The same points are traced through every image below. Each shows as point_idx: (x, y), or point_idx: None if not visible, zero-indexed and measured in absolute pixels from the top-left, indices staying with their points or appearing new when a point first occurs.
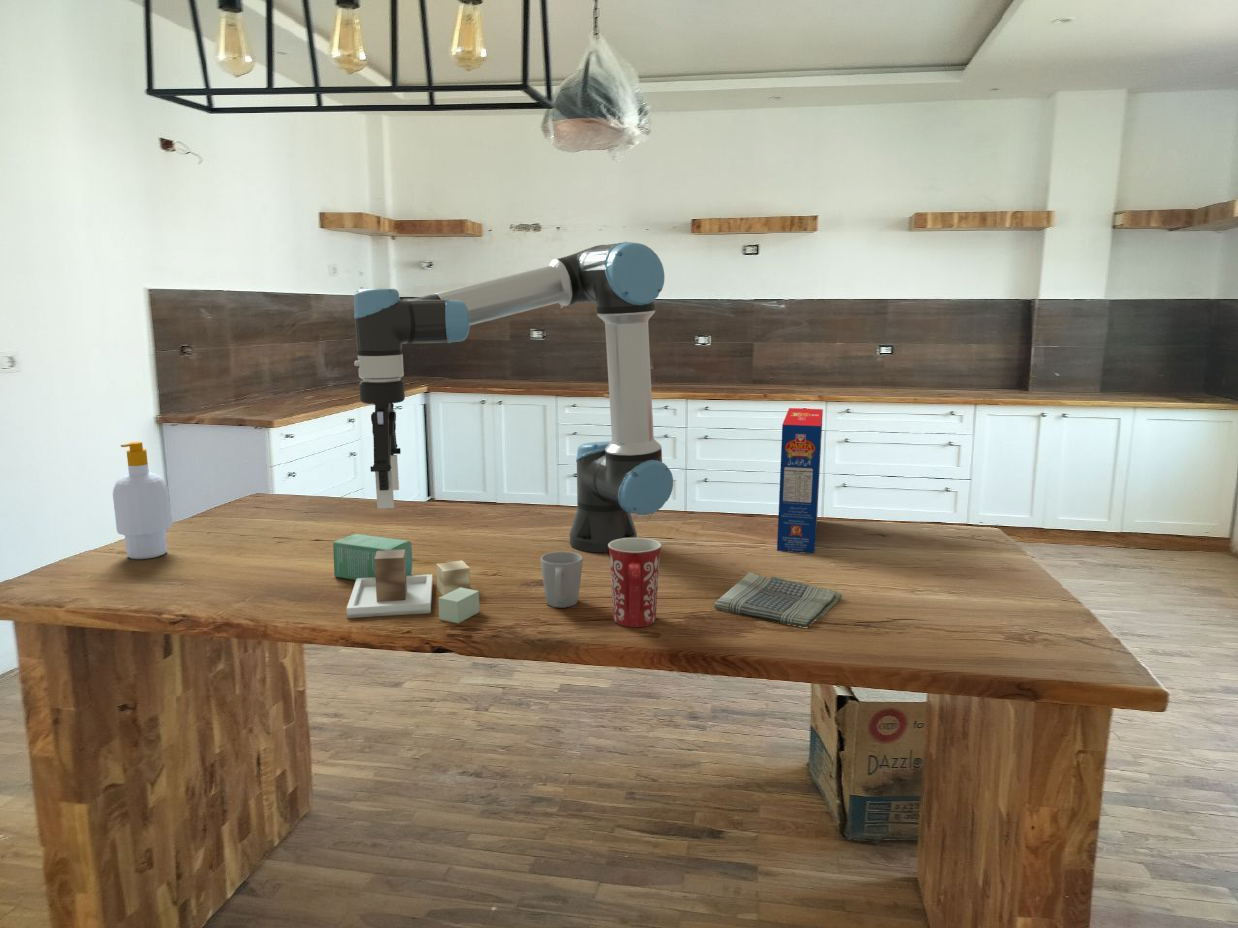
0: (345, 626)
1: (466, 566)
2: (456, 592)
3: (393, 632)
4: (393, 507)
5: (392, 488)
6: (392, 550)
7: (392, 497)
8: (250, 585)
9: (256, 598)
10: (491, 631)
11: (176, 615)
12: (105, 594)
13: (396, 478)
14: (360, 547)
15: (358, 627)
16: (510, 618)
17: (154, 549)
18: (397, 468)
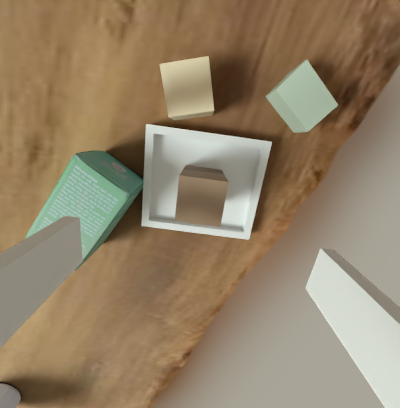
0: (270, 236)
1: (199, 61)
2: (296, 100)
3: (311, 190)
4: (334, 251)
5: (390, 299)
6: (179, 196)
7: (358, 274)
8: (114, 316)
9: (156, 310)
10: (370, 66)
11: (185, 358)
12: (117, 402)
13: (50, 244)
14: (102, 235)
15: (279, 224)
16: (338, 24)
17: (8, 397)
18: (7, 266)
